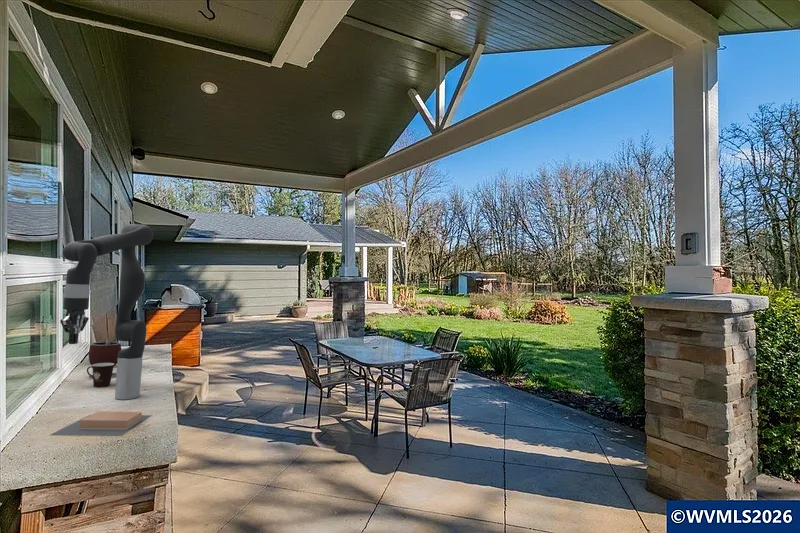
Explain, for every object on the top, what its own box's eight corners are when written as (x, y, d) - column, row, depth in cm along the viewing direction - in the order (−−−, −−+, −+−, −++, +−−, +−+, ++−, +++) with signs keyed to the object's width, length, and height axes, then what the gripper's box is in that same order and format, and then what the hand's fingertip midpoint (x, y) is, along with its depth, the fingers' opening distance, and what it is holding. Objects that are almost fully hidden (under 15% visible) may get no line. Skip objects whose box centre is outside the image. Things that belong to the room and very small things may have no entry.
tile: (97, 411, 156) (141, 412, 158) (97, 419, 156) (141, 420, 158) (80, 420, 146) (127, 420, 148) (79, 429, 146) (126, 429, 148)
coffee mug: (116, 385, 207) (117, 364, 207) (96, 388, 199) (97, 367, 200) (103, 381, 212) (105, 361, 213) (83, 385, 205) (85, 363, 206)
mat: (90, 416, 161) (90, 414, 162) (152, 416, 164) (152, 415, 164) (48, 436, 140) (49, 435, 140) (121, 437, 142) (121, 435, 142)
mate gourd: (84, 375, 224) (87, 336, 224) (116, 372, 233) (118, 335, 234) (90, 381, 212) (93, 340, 213) (123, 378, 222) (126, 338, 223)
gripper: (76, 297, 154) (72, 346, 153) (98, 296, 167) (94, 341, 166) (53, 296, 153) (49, 346, 152) (77, 295, 166) (73, 341, 165)
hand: (73, 343), depth 159 cm, fingers closed
